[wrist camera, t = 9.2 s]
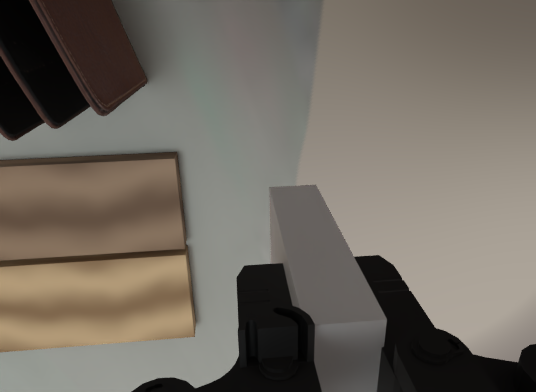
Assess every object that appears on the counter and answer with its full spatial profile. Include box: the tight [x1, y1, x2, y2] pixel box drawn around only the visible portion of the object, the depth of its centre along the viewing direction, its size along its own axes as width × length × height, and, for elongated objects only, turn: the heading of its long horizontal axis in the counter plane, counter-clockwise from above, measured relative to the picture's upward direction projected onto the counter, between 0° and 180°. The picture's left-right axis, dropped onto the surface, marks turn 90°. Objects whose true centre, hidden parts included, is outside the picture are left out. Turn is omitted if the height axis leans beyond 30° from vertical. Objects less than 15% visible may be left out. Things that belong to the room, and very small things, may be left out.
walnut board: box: [0, 152, 187, 261], centre depth 40 cm, size 9×24×2 cm, turn 91°
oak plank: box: [0, 245, 196, 352], centre depth 44 cm, size 10×24×2 cm, turn 91°
